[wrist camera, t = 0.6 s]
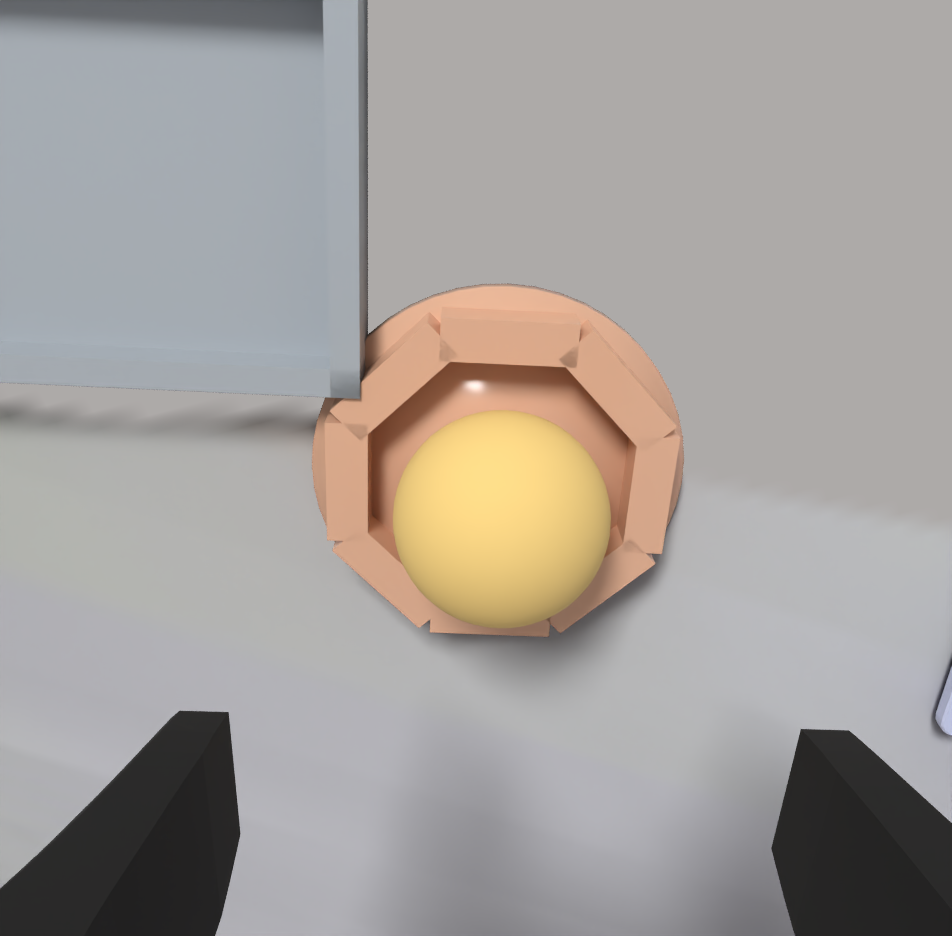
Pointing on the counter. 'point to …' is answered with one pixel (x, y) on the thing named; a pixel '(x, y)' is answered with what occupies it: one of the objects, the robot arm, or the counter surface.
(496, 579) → the ball
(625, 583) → the dish
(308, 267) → the tray
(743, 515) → the counter surface
